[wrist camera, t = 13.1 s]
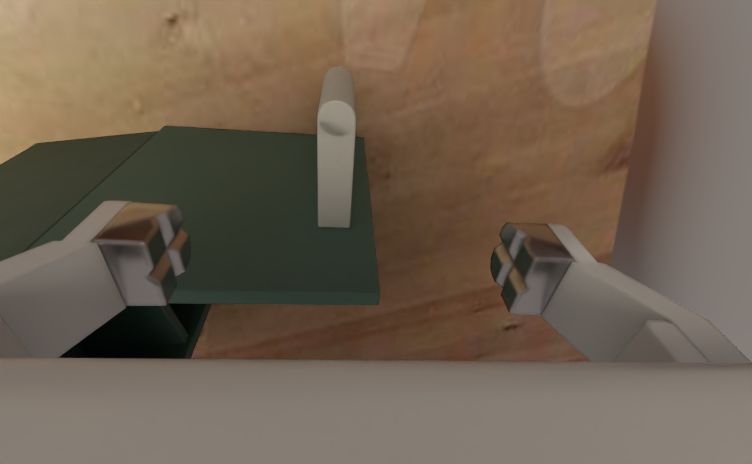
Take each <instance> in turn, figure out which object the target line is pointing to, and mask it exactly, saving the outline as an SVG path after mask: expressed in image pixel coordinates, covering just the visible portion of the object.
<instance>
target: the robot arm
mask: <svg viewBox="0 0 752 464" xmlns="http://www.w3.org/2000/svg"><path fill="white" fill-rule="evenodd" d="M184 221H185V218H184V215H183V212H182V209H181V208H180V207H179V206H178V205H177V204H163V203H149V202H135V201H133V202H131V201H118V200H109V201H104V202H103V203H102V204H101V205H99V206H98V207H97V208H96V209H95V210H94V211H93V212H92V213H91V214H90V215H89V216H88V217H87V218H85V219H84V220H83V221H82V222H81V223H80V224H79V225H78V226H77V227H76V228H75V229H74V230H73V231H72V232H70V233H69V234H68V235H67V236H66V237H65V238H64V239H63V240H62V241H51V242H49V243H46V244H44V245H41V246H38V247H36V248H33V249H31V250H28V251H26V252H23V253H20V254H18V255H15V256H13V257H10V258H8V259H5V260H2V261H0V464H752V362H751V361H750V360H749V359H748V358H747V357H746V356H745V355H744V354H743V353H742V352H741V351H739V349H738V348H737V347H736V346H735V345H734V344H732V343H731V342H730V341H729V340H728V339H727V338H726V337H725V336H724V335H723V334H722V333H721V332H720V331H719V330H718V329H717V328H716V327H715V326H714V325H713V324H712V323H711V322H710V321H709V320H707V319H706V318H704V317H702V316H700V315H698V314H696V313H694V312H693V311H691V310H689V309H687V308H685V307H683V306H682V305H680V304H678V303H676V302H674V301H672V300H671V299H669V298H667V297H665V296H663V295H661V294H660V293H658V292H656V291H654V290H652V289H650V288H648V287H647V286H645V285H643V284H641V283H639V282H637V281H635V280H634V279H632V278H630V277H628V276H626V275H625V274H623V273H621V272H619V271H617V270H615V269H613V268H612V267H610V266H608V265H606V264H604V263H598V262H597V261H596V260H595V259H594V258H593V256H592V255H591V254H590V253H589V252H588V251H587V249H586V248H585V247H584V246H583V245H582V244H581V242H580V241H579V240H578V239H577V238H576V237H575V235H574V234H573V233H572V232H571V231H570V230H569V228H568V227H567V226H565V225H563V224H545V223H543V224H536V223H506V224H505V225H504V226H503V227H502V230H501V232H500V235H499V236H500V238H501V240H502V243H500V244H499V245H498V246H496V247H495V248H494V250H493V253H492V256H491V266H490V268H491V273H492V277H493V279H494V281H495V282H496V283H497V284H498V285H500V286H501V287H502V288H503V290H502V292H501V296H502V298H503V300H504V303H505V305H506V307H507V309H508V311H509V313H510V314H527V315H542V316H541V317H542V318H543V319H544V320H545V321H546V322H547V323H549V324H550V325H551V326H552V327H553V328H554V329H555V330H556V331H557V332H559V333H560V334H561V335H562V336H563V337H564V338H565V339H566V340H567V341H569V342H570V343H571V344H572V345H573V346H574V347H575V348H576V349H577V350H579V351H580V352H581V353H582V354H583V355H584V356H585V357H586V358H587V359H589V360H590V361H591V362H528V361H415V360H278V359H146V358H58V357H60V356H61V355H62V354H64V353H65V352H66V351H68V350H69V349H70V348H72V347H73V346H75V345H76V344H77V343H79V342H80V341H81V340H83V339H84V338H85V337H87V336H88V335H90V334H91V333H92V332H94V331H95V330H96V329H98V328H99V327H100V326H102V325H103V324H105V323H106V322H107V321H109V320H110V319H111V318H113V317H114V316H115V315H117V314H118V313H120V312H121V311H122V310H124V309H125V308H126V306H166V305H167V303H168V301H169V299H170V298H171V296H172V294H173V292H174V290H175V288H176V287H177V281H176V278H175V277H177V276H178V275H180V274H182V273H183V272H185V270H186V268H187V266H188V264H189V261H190V256H191V242H190V238H189V234H187V233H186V232H185V231H184V230H183V229H182V228H181V225H182V224H183V222H184Z"/></svg>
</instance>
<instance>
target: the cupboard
mask: <svg viewBox="0 0 752 464" xmlns="http://www.w3.org/2000/svg"><path fill="white" fill-rule="evenodd" d="M157 132H158V131H156V132H146V133H136V134H126V135H116V136H106V137H96V138H86V139H76V140H66V141H56V142H46V143H36V144H35V145H33V146H31V147H29V148H28V149H27V150H25V151H23V152H21V153H20V154H18V155H16V156H15V157H13V158H11V159H9V160H8V161H6V162H4V163H3V164H1V165H0V261H2V260H5V259H8V258H10V257H13V256H15V255H18V254H20V253H23V252H26V251H27V250H28V249H29V248H30V247H31V246H32V245H33V244H34V243H36V242H37V241H38V240H39V239H40V238H41V237H42V236H43V235H44V234H46V233H47V232H48V231H49V230H50V229H51V228H52V227H53V226H54V225H56V224H57V223H58V222H59V221H60V220H61V219H62V218H63V217H64V216H66V215H67V214H68V213H69V212H70V211H71V210H72V209H73V208H74V207H75V206H77V205H78V204H79V203H80V202H81V201H82V200H83V199H84V198H85V197H87V196H88V195H89V194H90V193H91V192H92V191H93V190H94V189H95V188H97V187H98V186H99V185H100V184H101V183H102V182H103V181H104V180H105V179H107V178H108V177H109V176H110V175H111V174H112V173H113V172H114V171H115V170H116V169H118V168H119V167H120V166H121V165H122V164H123V163H124V162H125V161H126V160H128V159H129V158H130V157H131V156H132V155H133V154H134V153H135V152H136V151H138V150H139V149H140V148H141V147H142V146H143V145H144V144H145V143H146V142H148V141H149V140H150V139H151V138H152V137H153V136H154V135H155V134H156V133H157ZM211 305H212V304H187V303H167V305H166V306H126V308H125V309H124V310H122V311H121V312H120V313H118V314H117V315H115V316H114V317H113V318H111V319H110V320H109V321H107V322H106V323H105V324H103V325H102V326H100V327H99V328H98V329H96V330H95V331H94V332H92V333H91V334H90V335H88V336H87V337H85V338H84V339H83V340H81V341H80V342H79V343H77V344H76V345H75V346H73V347H72V348H70V349H69V350H68V351H66V352H65V353H64V354H62V355H61V356H60V357H58V358H146V359H191V356H192V354H193V351H194V348H195V346H196V343H197V341H198V338H199V336H200V333H201V330H202V328H203V325H204V323H205V320H206V318H207V315H208V313H209V310H210V307H211Z"/></svg>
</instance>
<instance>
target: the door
mask: <svg viewBox="0 0 752 464" xmlns="http://www.w3.org/2000/svg"><path fill="white" fill-rule="evenodd" d="M355 132H356V109H355V96H354V82H353V77H352V75H351V73H350V72H349V70H347V69H346V68H344V67H342V66H334V67H332V68H330V69H329V70H328V71H327V72H326V74H325V76H324V81H323V87H322V92H321V98H320V103H319V109H318V114H317V135H307V134H290V133H274V132H257V131H240V130H224V129H207V128H190V127H174V126H164V127H163V128H162V129H161V130H160V131H159V132H157V133H156V134H155V135H154V136H153V137H152V138H151V139H150V140H149V141H148V142H146V143H145V144H144V145H143V146H142V147H141V148H140V149H139V150H138V151H136V152H135V153H134V154H133V155H132V156H131V157H130V158H129V159H128V160H126V161H125V162H124V163H123V164H122V165H121V166H120V167H119V168H118V169H116V170H115V171H114V172H113V173H112V174H111V175H110V176H109V177H108V178H107V179H105V180H104V181H103V182H102V183H101V184H100V185H99V186H98V187H97V188H95V189H94V190H93V191H92V192H91V193H90V194H89V195H88V196H87V197H85V198H84V199H83V200H82V201H81V202H80V203H79V204H78V205H77V206H75V207H74V208H73V209H72V210H71V211H70V212H69V213H68V214H67V215H66V216H64V217H63V218H62V219H61V220H60V221H59V222H58V223H57V224H56V225H54V226H53V227H52V228H51V229H50V230H49V231H48V232H47V233H46V234H44V235H43V236H42V237H41V238H40V239H39V240H38V241H37V242H36V243H34V244H33V245H32V246H31V247H30V248H29V249H28V250H31V249H33V248H36V247H38V246H41V245H44V244H46V243H49V242H51V241H62V240H63V239H64V238H65V237H66V236H67V235H68V234H69V233H70V232H72V231H73V230H74V229H75V228H76V227H77V226H78V225H79V224H80V223H81V222H82V221H83V220H84V219H85V218H87V217H88V216H89V215H90V214H91V213H92V212H93V211H94V210H95V209H96V208H97V207H98V206H99V205H101V204H102V203H103V202H104V201H109V200H118V201H131V202H133V201H135V202H149V203H163V204H177V205H178V206H179V207H180V208H181V209H182V212H183V215H184V218H185V221H184V222H183V224H182V225H181V228H182V229H183V230H184V231H185V232H186V233H187V234H189V238H190V242H191V256H190V261H189V264H188V266H187V268H186V270H185V272H183V273H182V274H180V275H178V276H177V277H175V278H176V281H177V287H176V288H175V290H174V292H173V294H172V296H171V298H170V299H169V301H168V303H187V304H317V305H378V304H379V297H380V286H379V277H378V268H377V258H376V249H375V240H374V231H373V221H372V212H371V203H370V193H369V184H368V175H367V166H366V156H365V147H364V138H357V137H355ZM28 250H27V251H28Z"/></svg>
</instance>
